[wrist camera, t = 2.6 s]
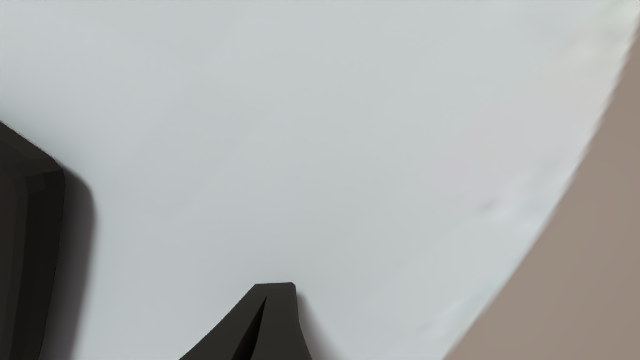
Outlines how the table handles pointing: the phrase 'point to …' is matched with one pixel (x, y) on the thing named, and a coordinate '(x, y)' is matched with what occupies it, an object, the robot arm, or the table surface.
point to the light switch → (27, 242)
